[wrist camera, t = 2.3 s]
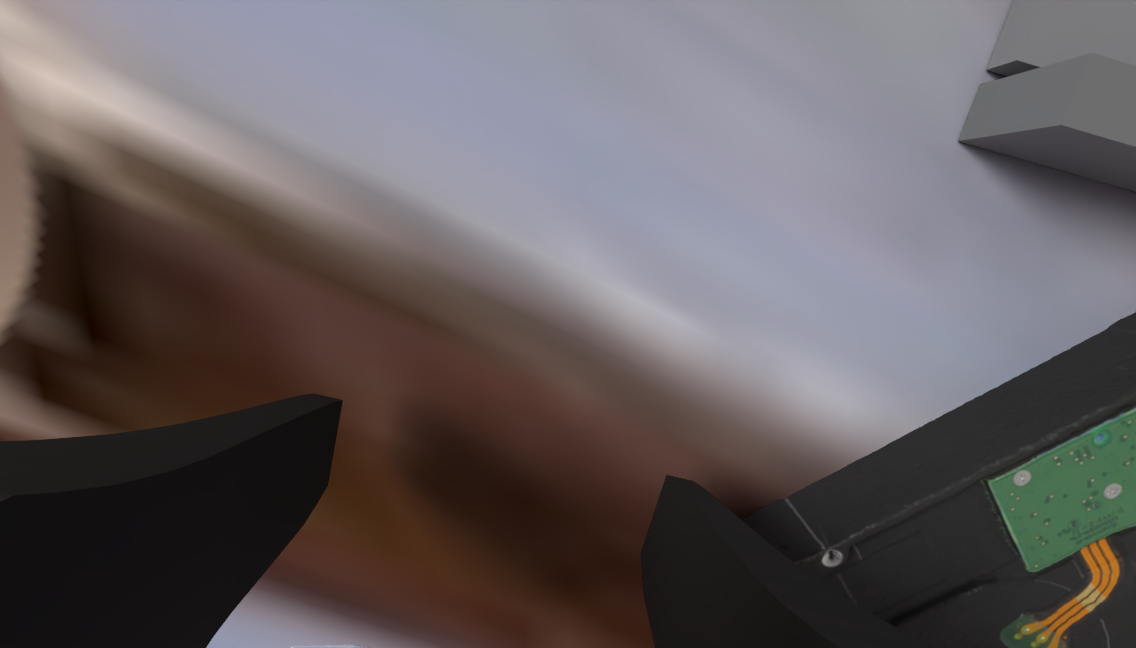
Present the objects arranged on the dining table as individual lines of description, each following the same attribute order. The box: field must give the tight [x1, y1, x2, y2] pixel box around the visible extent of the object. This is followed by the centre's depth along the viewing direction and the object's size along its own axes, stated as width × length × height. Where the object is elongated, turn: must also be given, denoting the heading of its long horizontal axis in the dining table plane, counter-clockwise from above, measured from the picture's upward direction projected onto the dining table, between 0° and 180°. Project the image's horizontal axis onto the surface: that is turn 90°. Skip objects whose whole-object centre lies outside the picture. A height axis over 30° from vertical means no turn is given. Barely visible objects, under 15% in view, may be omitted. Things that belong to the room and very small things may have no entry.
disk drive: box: [741, 312, 1136, 648], centre depth 13 cm, size 10×3×15 cm
